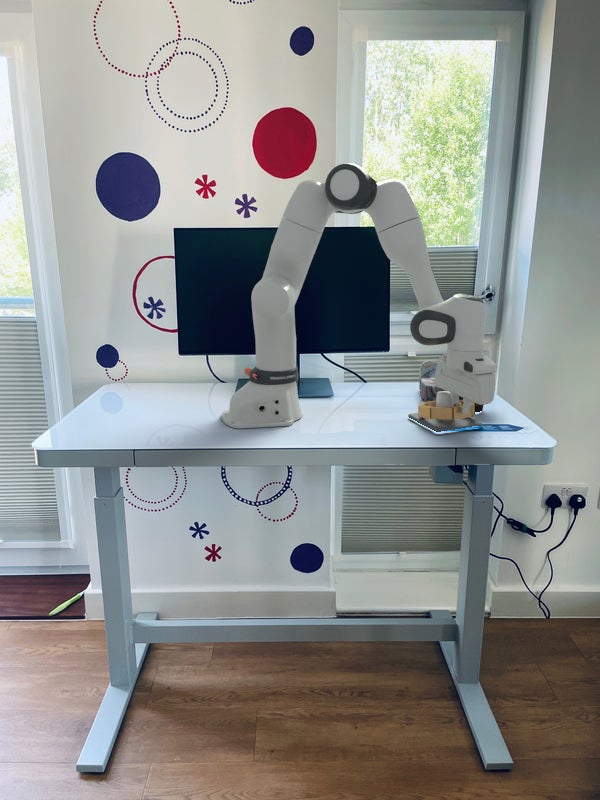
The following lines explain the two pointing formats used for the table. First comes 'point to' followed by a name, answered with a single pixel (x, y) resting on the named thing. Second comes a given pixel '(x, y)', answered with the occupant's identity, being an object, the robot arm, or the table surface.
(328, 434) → the table surface
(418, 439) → the table surface
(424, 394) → the cell model
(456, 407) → the wooden ring
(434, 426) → the piston stand
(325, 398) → the table surface
